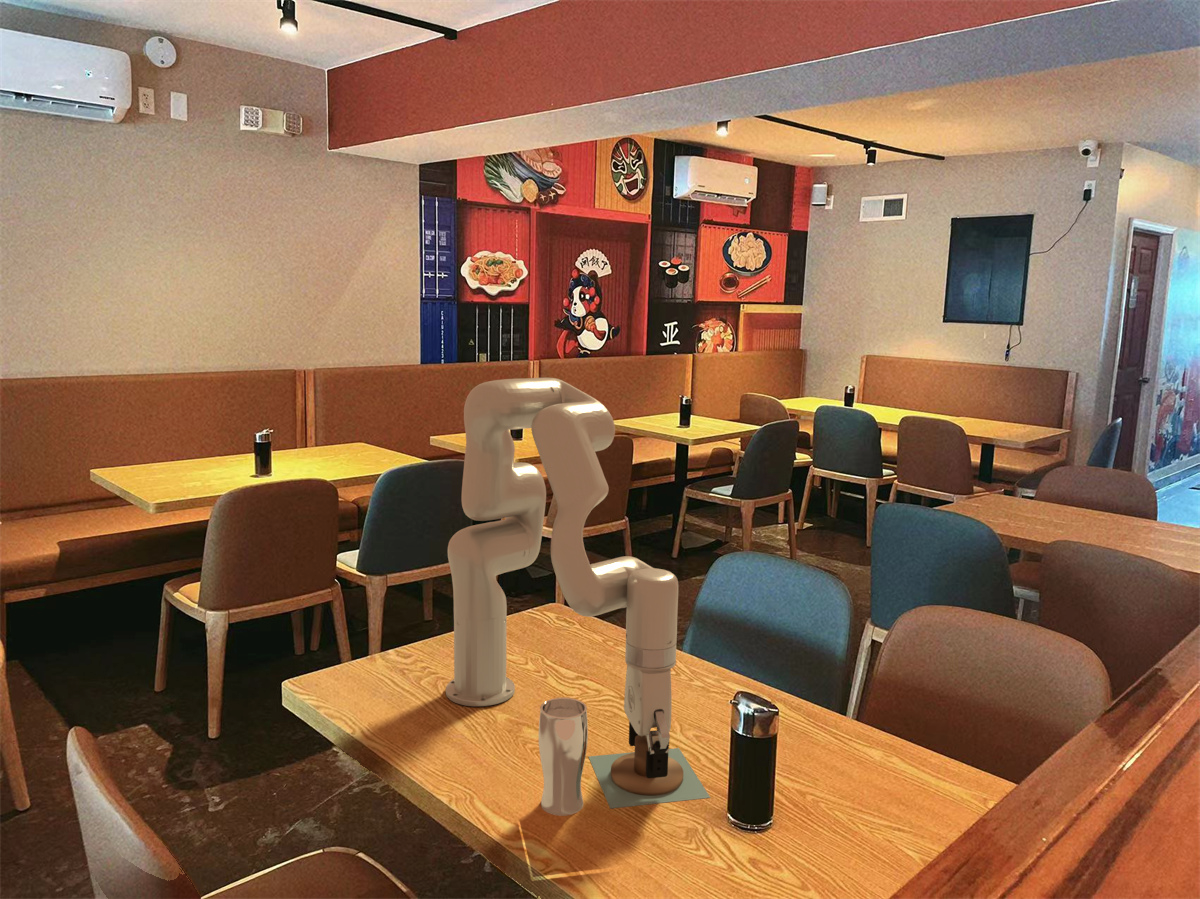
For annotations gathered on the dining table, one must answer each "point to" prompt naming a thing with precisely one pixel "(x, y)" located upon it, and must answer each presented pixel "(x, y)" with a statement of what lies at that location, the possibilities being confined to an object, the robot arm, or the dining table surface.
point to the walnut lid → (644, 772)
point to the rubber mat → (622, 798)
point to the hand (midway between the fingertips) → (647, 760)
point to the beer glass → (562, 754)
